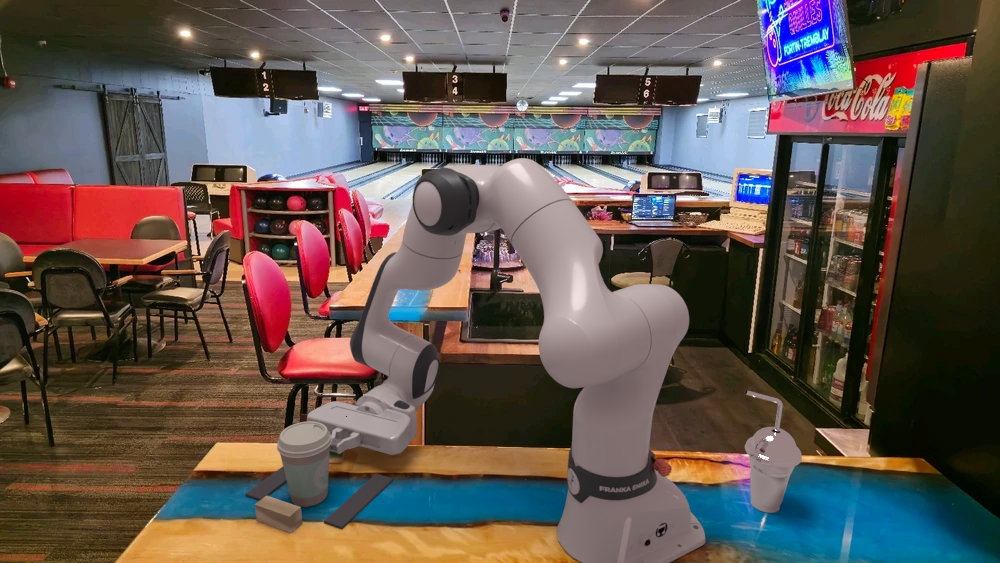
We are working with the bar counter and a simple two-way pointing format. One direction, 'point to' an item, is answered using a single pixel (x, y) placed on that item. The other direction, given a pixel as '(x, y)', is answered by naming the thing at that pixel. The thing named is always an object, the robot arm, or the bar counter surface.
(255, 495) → the gutter strips
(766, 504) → the cup with straw
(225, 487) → the bar counter surface
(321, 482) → the coffee cup
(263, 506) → the maple block
